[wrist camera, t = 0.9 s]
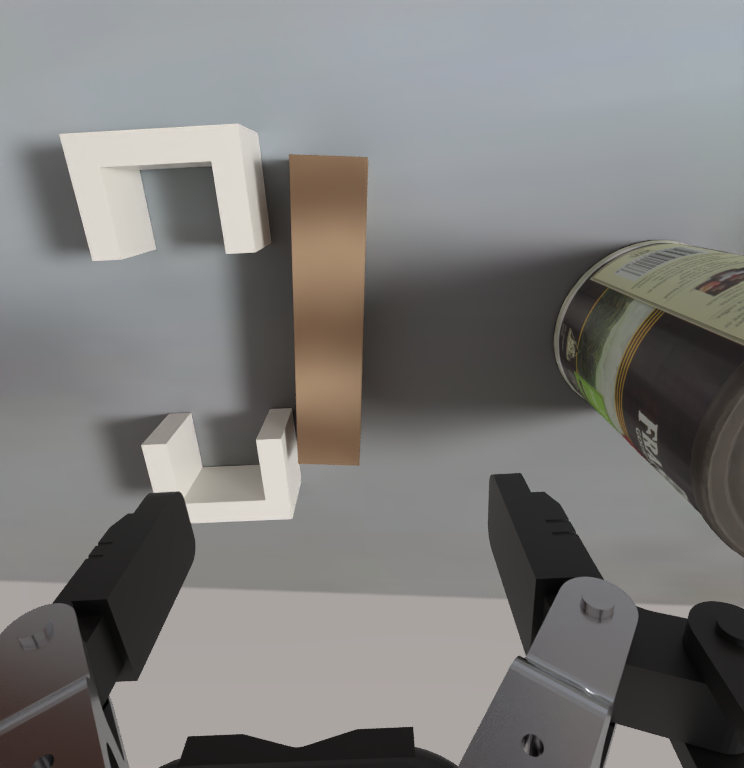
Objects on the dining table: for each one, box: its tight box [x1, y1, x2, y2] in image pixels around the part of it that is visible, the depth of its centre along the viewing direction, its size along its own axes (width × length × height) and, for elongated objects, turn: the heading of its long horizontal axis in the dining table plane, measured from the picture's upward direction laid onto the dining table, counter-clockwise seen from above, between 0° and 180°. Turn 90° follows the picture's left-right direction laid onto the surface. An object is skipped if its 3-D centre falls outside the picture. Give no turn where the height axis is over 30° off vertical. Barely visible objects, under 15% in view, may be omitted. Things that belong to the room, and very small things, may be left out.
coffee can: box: [554, 240, 744, 557], centre depth 22 cm, size 10×10×14 cm
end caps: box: [59, 124, 301, 523], centre depth 27 cm, size 21×8×4 cm, turn 3°
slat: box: [289, 154, 368, 465], centre depth 27 cm, size 16×4×4 cm, turn 178°
